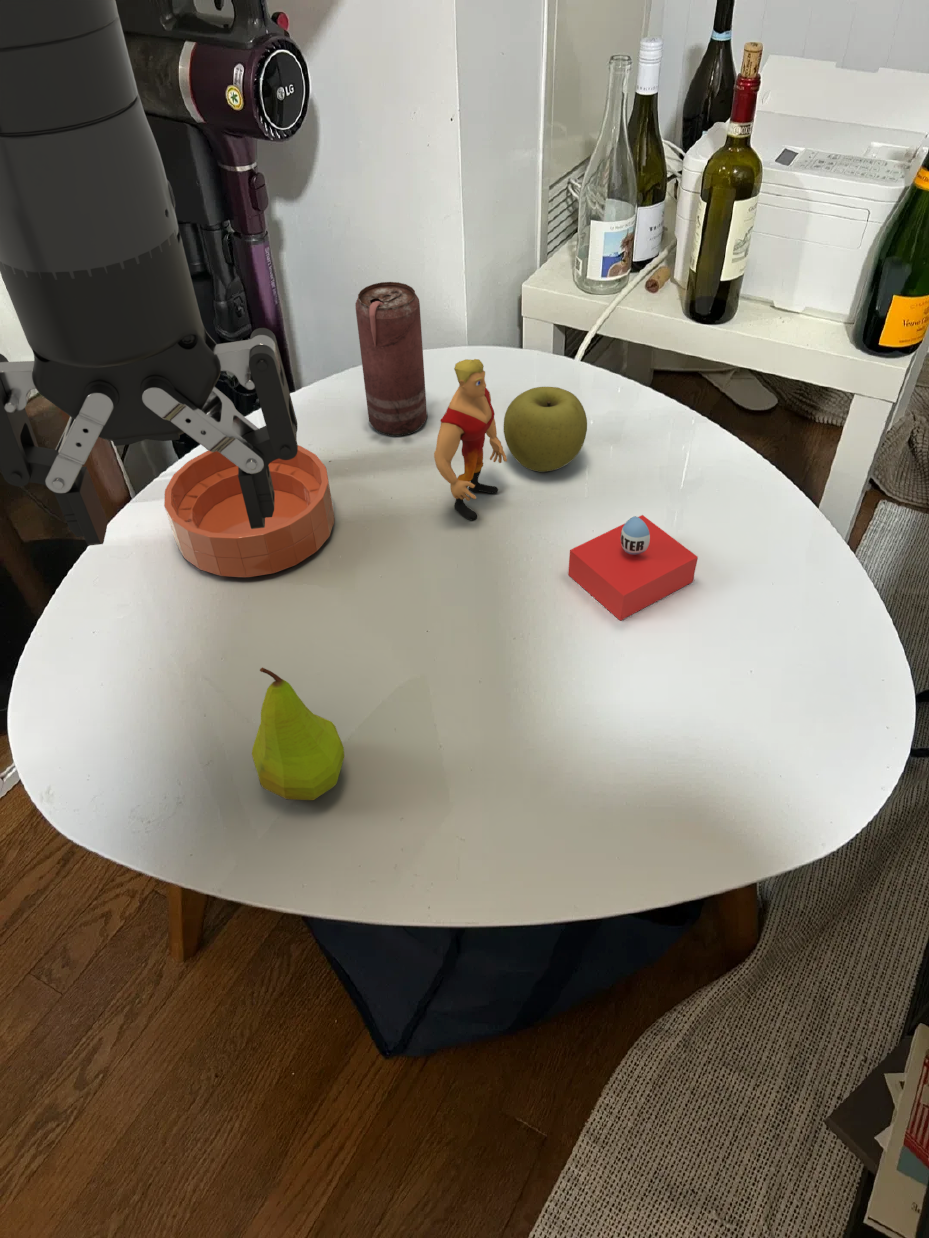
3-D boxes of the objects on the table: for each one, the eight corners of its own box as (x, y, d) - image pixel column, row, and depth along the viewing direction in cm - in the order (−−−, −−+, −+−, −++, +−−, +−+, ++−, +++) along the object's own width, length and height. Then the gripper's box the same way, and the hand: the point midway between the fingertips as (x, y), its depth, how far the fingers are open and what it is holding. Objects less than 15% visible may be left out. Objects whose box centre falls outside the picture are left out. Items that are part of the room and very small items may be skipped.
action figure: (468, 537, 83) (463, 390, 72) (433, 526, 84) (423, 380, 74) (513, 480, 89) (515, 336, 78) (480, 470, 90) (477, 327, 79)
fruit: (368, 781, 64) (348, 666, 56) (296, 835, 62) (263, 723, 53) (313, 730, 68) (286, 614, 59) (242, 778, 65) (203, 664, 56)
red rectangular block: (620, 620, 75) (627, 562, 70) (568, 574, 79) (572, 516, 75) (692, 581, 78) (704, 523, 73) (639, 539, 82) (647, 482, 78)
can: (360, 435, 95) (344, 307, 85) (379, 402, 99) (365, 276, 89) (417, 442, 94) (407, 312, 84) (433, 408, 98) (426, 281, 88)
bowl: (207, 603, 78) (194, 559, 74) (159, 514, 87) (144, 470, 83) (360, 546, 82) (354, 501, 79) (299, 466, 91) (291, 423, 88)
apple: (574, 491, 87) (579, 427, 82) (493, 477, 89) (493, 413, 84) (591, 446, 92) (597, 383, 87) (514, 434, 94) (515, 372, 89)
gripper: (-123, 280, 35) (31, 589, 47) (253, 248, 36) (313, 558, 48) (-69, 204, 40) (57, 499, 52) (258, 179, 42) (310, 473, 53)
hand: (179, 527), depth 50 cm, fingers open, 8 cm apart
